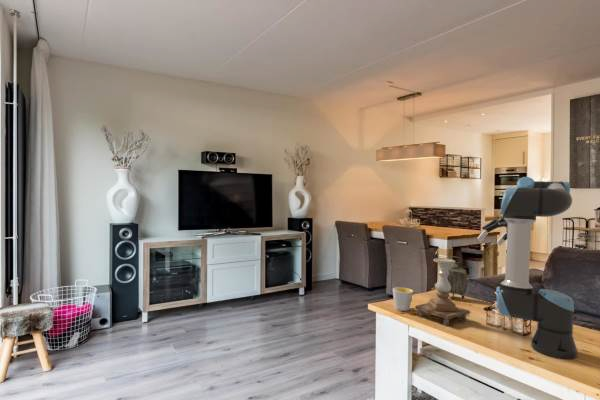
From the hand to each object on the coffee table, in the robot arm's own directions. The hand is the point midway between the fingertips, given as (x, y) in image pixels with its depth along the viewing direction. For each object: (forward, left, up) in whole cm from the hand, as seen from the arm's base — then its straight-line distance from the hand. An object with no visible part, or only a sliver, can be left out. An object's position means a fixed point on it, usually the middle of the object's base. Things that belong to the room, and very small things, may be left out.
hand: (488, 241), depth 192 cm
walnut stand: (+8, +25, -38) cm, 46 cm away
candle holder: (+8, +25, -33) cm, 42 cm away
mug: (+27, +30, -38) cm, 55 cm away
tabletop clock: (+27, -14, -38) cm, 49 cm away
